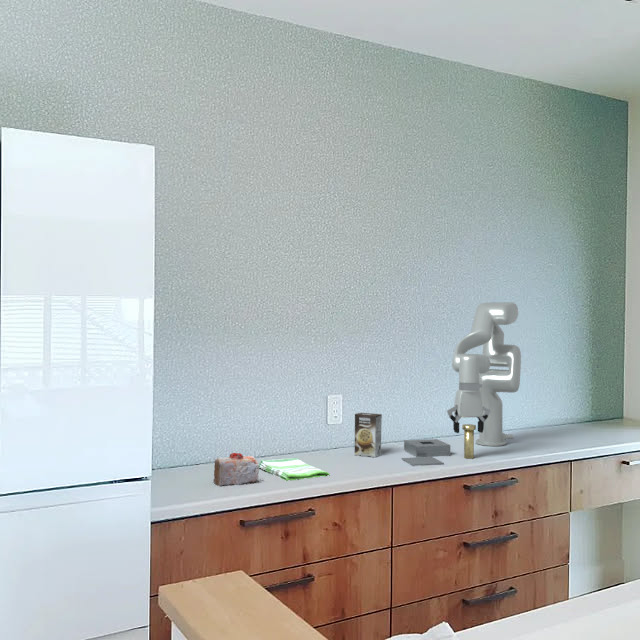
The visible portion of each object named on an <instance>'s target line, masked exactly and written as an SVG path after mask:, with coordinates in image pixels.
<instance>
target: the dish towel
mask: <svg viewBox="0 0 640 640" xmlns="http://www.w3.org/2000/svg"><path fill="white" fill-rule="evenodd" d="M258 464H259V469H260V468H261V469H260V470H262V469H263V470H262V471H264V470H265V471H264V472H266V473H268V472H269V474H270V473H271V475H273V474H274V475H273V476H275V477H276V476H277V478H279V477H280V478H279V479H281V480H283V479H284V480H283V481H285V480H286V482H287V481H288V480H290V481H297V480H296V479H299V480H305V479H304V478H307V479H314V478H313V477H315V478H321V477H320V476H323V477H327V475H329V476H330V473H329V472H328V471H325V470H322V469H320V468H318V467H315V466H313V465H310V464H308V463H306V462H304V461H302V460H301V459H299V458H298V457H292V458H280V459H279V458H278V459H267V460H266V459H260V462H259V463H258ZM288 482H289V481H288Z"/></svg>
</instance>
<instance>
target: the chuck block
mask: <svg viewBox="0 0 640 640" xmlns="http://www.w3.org/2000/svg"><path fill="white" fill-rule="evenodd" d="M404 450H405V451H404ZM403 451H404V452H406V451H407V452H406V453H408V452H409V453H408V454H410V453H411V454H410V455H412V454H413V455H412V456H413V457H415V456H416V457H422V456H429V457H445V456H446V457H447V456H448V455H450V456H451V444H448V443H447V442H444V441H442V440H440V439H437V438H433V439H408V440H406V439H405V440H403Z"/></svg>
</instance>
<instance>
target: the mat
mask: <svg viewBox="0 0 640 640" xmlns="http://www.w3.org/2000/svg"><path fill="white" fill-rule="evenodd" d="M402 459H403V460H402ZM401 460H402V461H404V460H405V461H406V463H407V462H408V464H409V463H410V464H409V465H411V466H412V465H421V466H434V465H435V466H436V465H445V463H444V462H443V461H441V460H439V459H437V458H435V457H434V456H429V457H415V456H413V457H402V458H401ZM405 461H404V462H405Z"/></svg>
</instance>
